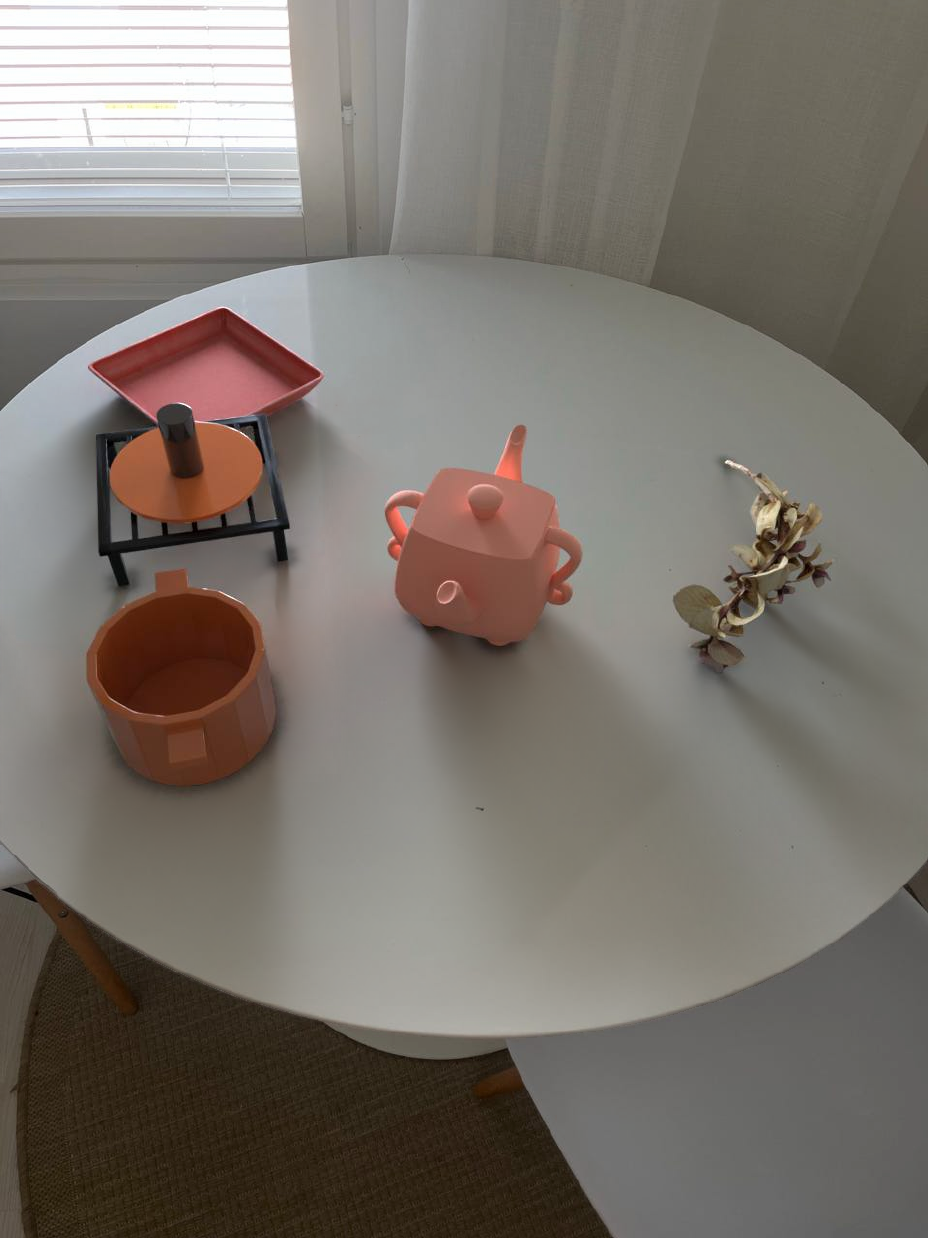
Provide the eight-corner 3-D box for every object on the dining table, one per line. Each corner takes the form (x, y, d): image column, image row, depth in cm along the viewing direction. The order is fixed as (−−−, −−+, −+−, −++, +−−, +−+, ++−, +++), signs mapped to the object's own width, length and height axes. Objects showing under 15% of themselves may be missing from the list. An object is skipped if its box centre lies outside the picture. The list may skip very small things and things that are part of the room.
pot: (118, 834, 65) (87, 773, 59) (112, 645, 76) (85, 576, 70) (291, 798, 68) (280, 736, 61) (261, 620, 79) (248, 551, 72)
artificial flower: (793, 497, 97) (823, 711, 76) (664, 466, 97) (659, 672, 77) (833, 423, 91) (878, 636, 70) (694, 390, 91) (698, 592, 70)
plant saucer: (329, 398, 99) (327, 372, 97) (192, 472, 90) (186, 446, 88) (228, 329, 107) (223, 303, 104) (91, 391, 98) (83, 364, 95)
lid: (114, 539, 77) (92, 475, 72) (110, 440, 85) (90, 376, 80) (273, 516, 80) (263, 453, 74) (254, 423, 88) (244, 359, 83)
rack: (112, 591, 80) (98, 552, 76) (108, 474, 90) (95, 433, 86) (294, 563, 83) (289, 524, 79) (271, 453, 93) (265, 413, 89)
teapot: (511, 520, 88) (524, 414, 79) (594, 644, 79) (621, 540, 69) (366, 561, 84) (361, 454, 74) (436, 697, 74) (440, 594, 65)
